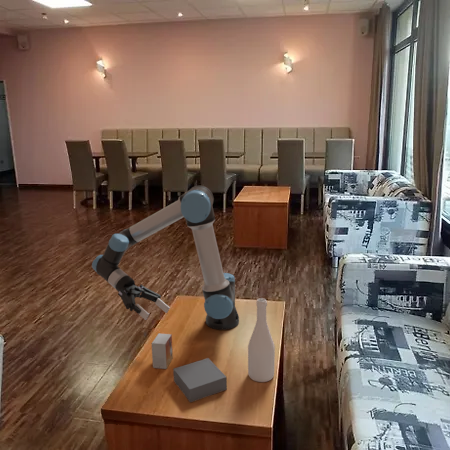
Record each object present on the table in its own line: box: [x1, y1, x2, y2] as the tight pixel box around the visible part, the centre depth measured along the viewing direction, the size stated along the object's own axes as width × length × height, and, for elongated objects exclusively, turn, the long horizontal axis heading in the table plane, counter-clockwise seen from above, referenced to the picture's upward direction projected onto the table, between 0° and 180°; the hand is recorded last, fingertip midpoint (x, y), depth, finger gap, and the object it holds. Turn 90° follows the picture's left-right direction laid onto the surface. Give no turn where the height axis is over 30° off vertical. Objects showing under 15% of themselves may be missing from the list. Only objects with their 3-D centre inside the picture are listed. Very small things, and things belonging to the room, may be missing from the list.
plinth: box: [172, 357, 228, 403], centre depth 159 cm, size 14×14×5 cm
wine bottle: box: [247, 297, 276, 383], centre depth 161 cm, size 10×10×30 cm
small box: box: [151, 332, 174, 370], centre depth 172 cm, size 8×6×10 cm
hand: (158, 313), depth 176 cm, fingers open, 13 cm apart
